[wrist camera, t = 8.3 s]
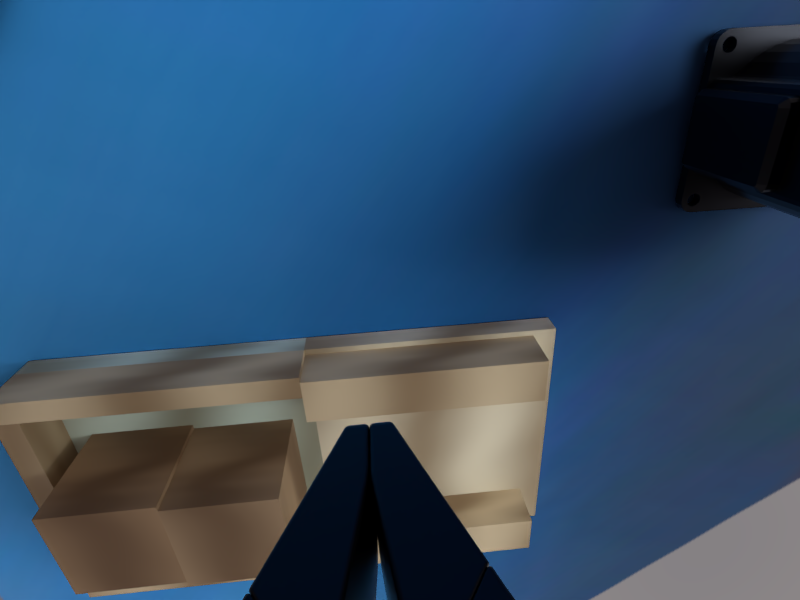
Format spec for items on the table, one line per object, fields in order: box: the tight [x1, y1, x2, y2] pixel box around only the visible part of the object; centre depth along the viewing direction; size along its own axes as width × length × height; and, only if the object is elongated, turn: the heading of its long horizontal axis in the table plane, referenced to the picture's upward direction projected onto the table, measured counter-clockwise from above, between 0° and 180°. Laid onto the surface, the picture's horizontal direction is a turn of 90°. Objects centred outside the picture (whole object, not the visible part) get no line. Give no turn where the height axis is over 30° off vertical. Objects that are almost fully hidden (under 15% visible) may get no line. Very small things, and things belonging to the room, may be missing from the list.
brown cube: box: [158, 419, 307, 585], centre depth 21 cm, size 4×4×4 cm
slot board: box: [0, 318, 556, 597], centre depth 23 cm, size 23×12×3 cm, turn 93°
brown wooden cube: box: [32, 425, 194, 594], centre depth 21 cm, size 4×4×4 cm
